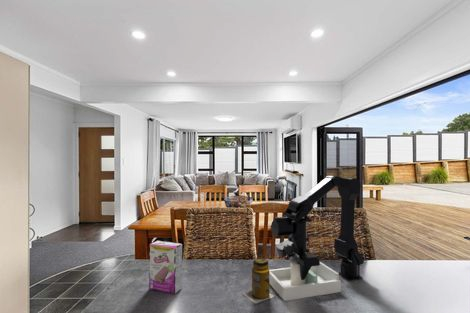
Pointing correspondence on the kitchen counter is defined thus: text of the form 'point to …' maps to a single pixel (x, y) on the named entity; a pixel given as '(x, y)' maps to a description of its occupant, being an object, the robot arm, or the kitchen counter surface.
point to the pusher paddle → (311, 277)
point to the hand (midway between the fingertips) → (298, 276)
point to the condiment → (259, 281)
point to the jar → (295, 271)
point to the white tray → (287, 291)
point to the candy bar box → (165, 267)
